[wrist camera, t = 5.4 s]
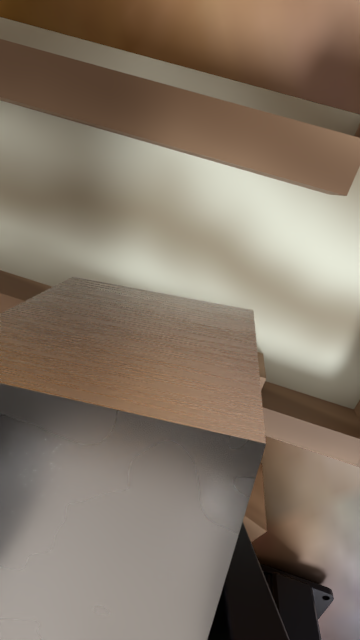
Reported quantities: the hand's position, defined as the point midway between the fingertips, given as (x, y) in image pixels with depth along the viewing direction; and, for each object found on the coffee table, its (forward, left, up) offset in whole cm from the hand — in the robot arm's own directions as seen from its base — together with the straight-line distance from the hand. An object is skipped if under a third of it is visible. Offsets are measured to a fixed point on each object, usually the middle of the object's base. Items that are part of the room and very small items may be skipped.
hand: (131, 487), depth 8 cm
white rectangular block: (0, 0, -1) cm, 1 cm away
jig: (+4, +1, -11) cm, 12 cm away
